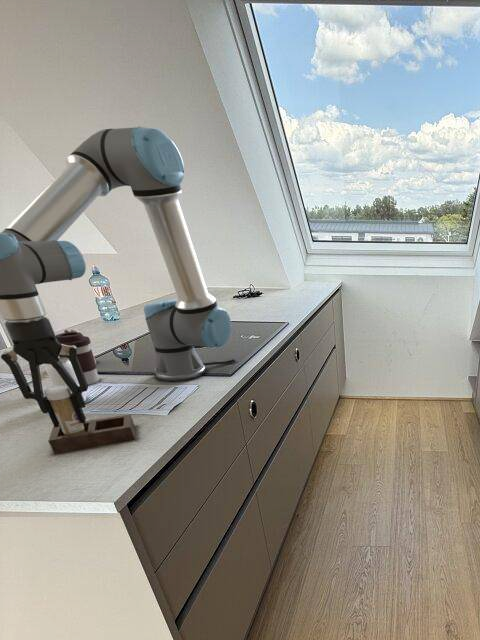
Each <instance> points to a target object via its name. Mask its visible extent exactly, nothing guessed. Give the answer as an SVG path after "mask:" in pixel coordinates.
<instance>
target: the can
mask: <svg viewBox="0 0 480 640" xmlns="http://www.w3.org/2000/svg"><path fill="white" fill-rule="evenodd" d="M58 358H59V359H60V361H61V362H62V364H63V366H64V367H65V369H66V370H67V371H68V373H69V374H70V376H71V377H72V378H73V380H74V381H75V383H76V384H77V385H78V386H80V385H79V383H78V380H77V377H76V375H75V372H74V370H73V367H72V364H71V362H70V361H69V358H60V357H58ZM44 369H45V371H46V373H47V376H48V378H49V381H50V382H51V385H52V387H58V386H65V387H68V386H67V384H66V383H65V382H64V380H63V379H62V378H61V376H60V375H59V373H58V372H57V371H56V369H55V368H53V366H52V365H51V364H45V368H44ZM68 388H69V387H68ZM69 390H70V389H69ZM70 393H71V394H72V391H71V390H70ZM81 394H82V396H83V399H84V401H85V402H86V400H87V396H86V393H85V391H84V392H82V393H81Z"/></svg>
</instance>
